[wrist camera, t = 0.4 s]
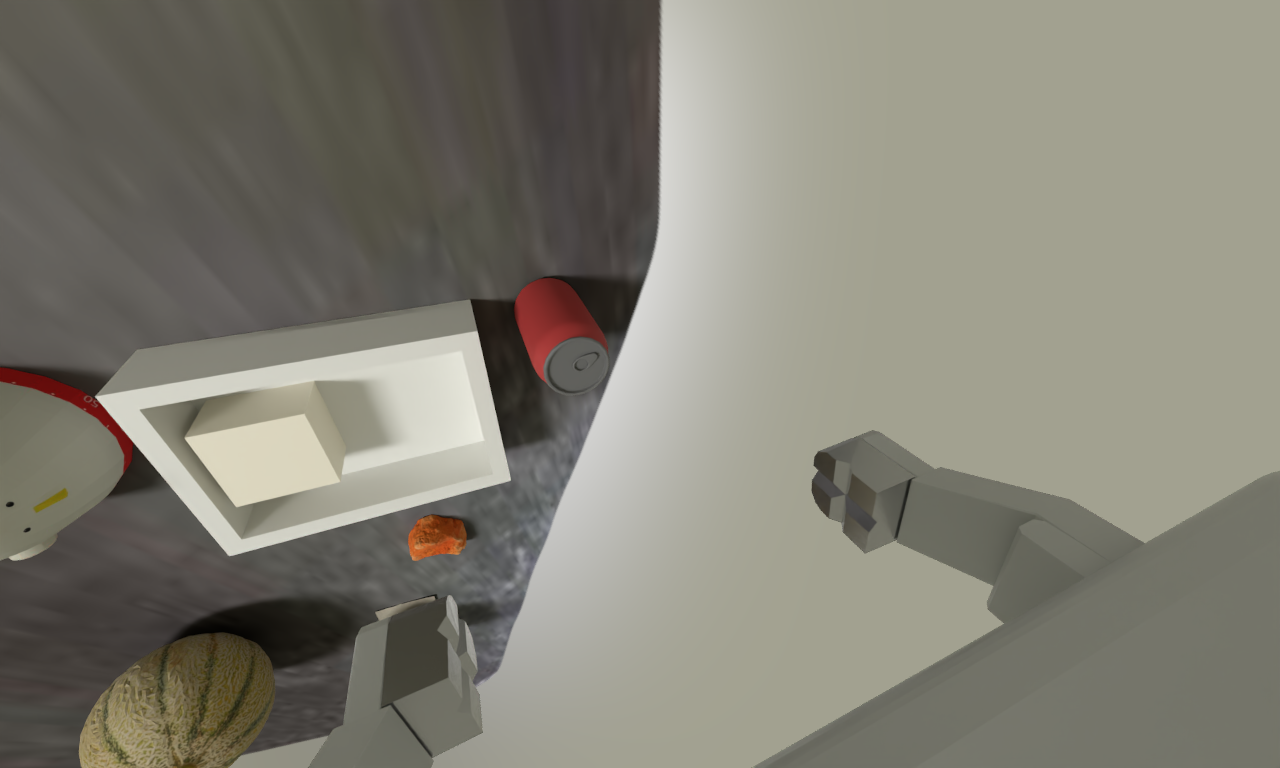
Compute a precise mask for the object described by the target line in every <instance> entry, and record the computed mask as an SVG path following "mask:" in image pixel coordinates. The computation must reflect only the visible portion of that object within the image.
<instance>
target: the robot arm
mask: <svg viewBox="0 0 1280 768" xmlns="http://www.w3.org/2000/svg"><path fill="white" fill-rule="evenodd" d="M814 466H815V467H816V469H817V470H818V472H817V473H816V475H815V477H814V478H813V480H812V494H813V496H814V499H815V502H816V504H817V505H818V507H819V508H820V509H821V511H822V512H823V513H824V514H825V515H826V516H827V517H828V518H829V519H832V520H835V521H838V522H841V523H842V529H843V533H844V534H845V535H846V536H848V538H849V539H850V540H851V541H853V542H854V543H855V544H856V545H857V546H858V547H859V548H860V549H861V550H862V551H863V552H864V553H867V552H870V551H872V550H875V549H877V548H879V547H882V546H884V545H886V544H888V543H891V542H893V541H895V540H897V543H899V544H902V545H904V546H906V547H908V548H911V549H913V550H915V551H917V552H919V553H922V554H924V555H926V556H928V557H931V558H933V559H935V560H937V561H939V562H942V563H944V564H946V565H948V566H951V567H953V568H955V569H957V570H960V571H962V572H964V573H966V574H968V575H971V576H973V577H975V578H977V579H980V580H982V581H984V582H986V583H988V584H991V585H993V586H994V587H993V589H992V591H991V594H990V596H989V598H988V601H987V607H988V610H989V611H990V612H992V613H993V614H994V615H995V616H996V617H997V618H998V619H999V620H1001V621H1002V622H1003V623H1004V624H1003V625H1001V626H999V627H998V628H996V629H994V630H992V631H991V632H989V633H987V634H985V635H984V636H982V637H980V638H978V639H977V640H975V641H973V642H971V643H970V644H968V645H966V646H964V647H963V648H961V649H959V650H957V651H956V652H954V653H952V654H951V655H949V656H947V657H945V658H943V659H942V660H940V661H938V662H936V663H934V664H933V665H931V666H929V667H927V668H926V669H924V670H922V671H920V672H919V673H917V674H915V675H913V676H912V677H910V678H908V679H906V680H905V681H903V682H901V683H899V684H898V685H896V686H894V687H892V688H891V689H889V690H887V691H885V692H884V693H882V694H880V695H878V696H877V697H875V698H873V699H871V700H870V701H868V702H866V703H864V704H863V705H861V706H859V707H857V708H856V709H854V710H852V711H850V712H849V713H847V714H845V715H843V716H842V717H840V718H838V719H836V720H835V721H833V722H831V723H829V724H828V725H826V726H824V727H822V728H821V729H819V730H817V731H815V732H814V733H812V734H810V735H808V736H806V737H805V738H803V739H801V740H800V741H798V742H796V743H794V744H792V745H791V746H789V747H787V748H786V749H784V750H782V751H780V752H778V753H777V754H775V755H773V756H772V757H770V758H768V759H766V760H764V761H763V762H761V763H759V764H757V765H756V766H754V767H752V768H1280V471H1278V472H1273V473H1270V474H1268V475H1265V476H1263V477H1261V478H1259V479H1257V480H1255V481H1254V482H1252V483H1250V484H1248V485H1247V486H1245V487H1243V488H1242V489H1240V490H1238V491H1236V492H1234V493H1233V494H1231V495H1229V496H1227V497H1226V498H1224V499H1222V500H1220V501H1219V502H1217V503H1215V504H1213V505H1212V506H1210V507H1208V508H1206V509H1205V510H1203V511H1201V512H1199V513H1198V514H1196V515H1194V516H1193V517H1191V518H1189V519H1187V520H1185V521H1183V522H1182V523H1180V524H1178V525H1176V526H1175V527H1173V528H1171V529H1169V530H1168V531H1166V532H1164V533H1162V534H1161V535H1159V536H1157V537H1155V538H1154V539H1152V540H1150V541H1148V542H1147V543H1143V542H1142V541H1140V540H1138V539H1137V538H1135V537H1133V536H1131V535H1130V534H1128V533H1126V532H1125V531H1123V530H1121V529H1120V528H1118V527H1116V526H1114V525H1113V524H1111V523H1109V522H1107V521H1106V520H1104V519H1102V518H1101V517H1099V516H1097V515H1096V514H1094V513H1092V512H1090V511H1089V510H1087V509H1085V508H1084V507H1082V506H1080V505H1078V504H1077V503H1075V502H1073V501H1071V500H1069V499H1066V498H1062V497H1057V496H1054V495H1050V494H1046V493H1042V492H1038V491H1033V490H1029V489H1026V488H1022V487H1018V486H1014V485H1010V484H1005V483H1001V482H998V481H993V480H990V479H985V478H981V477H977V476H974V475H970V474H965V473H961V472H958V471H954V470H950V469H945V468H942V467H940V468H937V469H934V468H932V467H931V466H930V465H928V464H927V463H925V462H924V461H922V460H920V459H919V458H918V457H916V456H915V455H913V454H912V453H910V452H909V451H907V450H906V449H904V448H903V447H901V446H900V445H898V444H897V443H895V442H894V441H892V440H891V439H889V438H888V437H886V436H885V435H883V434H882V433H880V432H877V431H874V430H872V431H869V432H867V433H864V434H862V435H859V436H856V437H854V438H851V439H848V440H846V441H843V442H841V443H838V444H836V445H833V446H831V447H828V448H826V449H823V450H821V451H819V452H818V453H817V454H816V456H815V458H814ZM477 671H478V670H477V660H476V653H475V648H474V644H473V639H472V636H471V633H470V630H469V628H468V626H467V624H466V622H465V620H462V619H459V618H458V609H457V605H456V603H455V601H454V600H453V598H452V596H451V595H450V596H445V597H443V598H440V599H437V600H434V601H432V602H429V603H426V604H423V605H421V606H418V607H415V608H412V609H409V610H407V611H404V612H401V613H398V614H396V615H393V616H391V617H388V618H386V619H383V620H380V621H377V622H375V623H372V624H369V625H367V626H364V627H361V629H360V631H359V633H358V635H357V637H356V642H355V649H354V655H353V662H352V669H351V675H350V682H349V689H348V695H347V702H346V709H345V716H344V722H343V725H342V726H340V727H338V728H335V729H333V731H332V732H331V734H330V735H329V737H328V738H327V740H326V741H325V743H324V744H323V746H322V747H321V749H320V750H319V752H318V753H317V755H316V756H315V758H314V759H313V761H312V762H311V764H310V766H309V767H308V768H431V766H432V764H433V759H432V758H433V757H435V756H437V755H439V754H441V753H443V752H445V751H447V750H449V749H451V748H453V747H455V746H457V745H459V744H461V743H463V742H465V741H467V740H469V739H471V738H473V737H475V736H477V735H479V734H481V733H483V731H482V718H481V707H480V706H481V705H480V695H479V693H478V691H477V689H476V687H475V685H474V684H473V682H472V681H473V679H474V677H475V675H476V673H477Z"/></svg>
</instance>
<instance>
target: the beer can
mask: <svg viewBox="0 0 1280 768" xmlns="http://www.w3.org/2000/svg"><path fill="white" fill-rule="evenodd" d="M514 313H515V319H516V322H517V325H518V327H519V330H520V333H521V335H522V338H523V341H524V343H525V346H526V349H527V351H528V354H529V357H530V359H531V362H532V365H533V367H534V369H535V371H536V372H537V374H538V376H539V377H540V378H541V379H542V380H543V381H545V382H546V383H547V384H548V386H549V387H551V388H552V389H553V390H554V391H555V392H558V393H560V394H563V395H572V396H574V395H580V394H584V393H586V392H588V391H590V390H593V389H594V388H595V387H596V386H598V385H599V384H600V383H601V382H602V381H603V379H604V378H605V376H606V375H607V372H608V369H609V355H608V346H607V342H606V339H605V337H604V334H603V333H602V331H601V329H600V328H599V326H598V325H597V323H596V322H595V320H594V319H593V317H592V316H591V314H590V313H589V311H588V310H587V308H586V307H585V305H584V304H583V302H582V301H581V299H580V298H579V296H578V295H577V293H576V292H575V291H574V289H573V288H572V287H571V286H570V285H569V284H567V283H565V282H564V281H562V280H559V279H554V278H544V279H538V280H536V281H534V282H532V283H530V284H528V285H527V286H526V287H525V288H524V289H522V290H521V292H520V294H519V295H518V297H517V298H516V302H515V306H514Z"/></svg>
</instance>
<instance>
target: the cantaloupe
mask: <svg viewBox="0 0 1280 768" xmlns="http://www.w3.org/2000/svg"><path fill="white" fill-rule="evenodd" d="M274 696H275V680H274V676H273V668H272V664H271V661H270V659H269V657H268V656H267V655H266V653H265V652H264V651H263V650H262V648H261V647H260V646H259V645H258V644H257V643H255V642H252V641H250V640H247V639H244V638H243V637H241V636H237V635H234V634H229V633H224V632H222V633H211V634H209V633H205V634H198V635H194V636H188V637H186V638H182V639H179V640H177V641H175V642H173V643H171V644H167V645H165V646H163V647H160V648H158V649H156V650H154V651H152V652H151V653H150V654H148V655H146V656H145V657H143V658H141V659H140V660H138V661H137V662H136V663H135V664H134V665H132V666H131V667H130V668H129V669H128V670H127V671H125V672H124V673H123V674H122V675H121V676H119V677H118V678H117V679H116V680H115V681H114V682H113V683H112V684H111V686H110V687H109V688H108V689H107V690H106V691H105V692H104V693H103V694H102V695H101V697H100V698H99V700H98V701H97V703H96V704H95V705H94V707H93V709H92V711H91V713H90V715H89V716H88V718H87V720H86V723H85V725H84V728H83V730H82V733H81V735H80V747H79V755H80V763H81V766H82V768H228V767H229V766H231V765H232V764H233V763H234V761H236V760H237V759H238V757H239V756H240V755H241V754H242V753H243V752H244V751H245V750H246V749H247V748H248V747H249V745H250V744H251V743H252V742H253V741H254V740H255V738H256V737H257V736H258V734H259V733H260V731H261V730H262V728H263V726H264V724H265V722H266V720H267V719H268V716H269V713H270V712H271V709H272V706H273V702H274Z"/></svg>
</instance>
